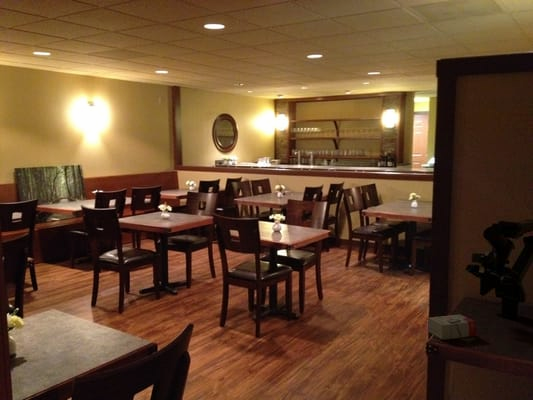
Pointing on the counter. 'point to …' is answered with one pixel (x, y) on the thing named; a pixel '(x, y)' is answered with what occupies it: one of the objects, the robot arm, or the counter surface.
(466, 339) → the mat
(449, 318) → the ink box
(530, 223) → the robot arm
